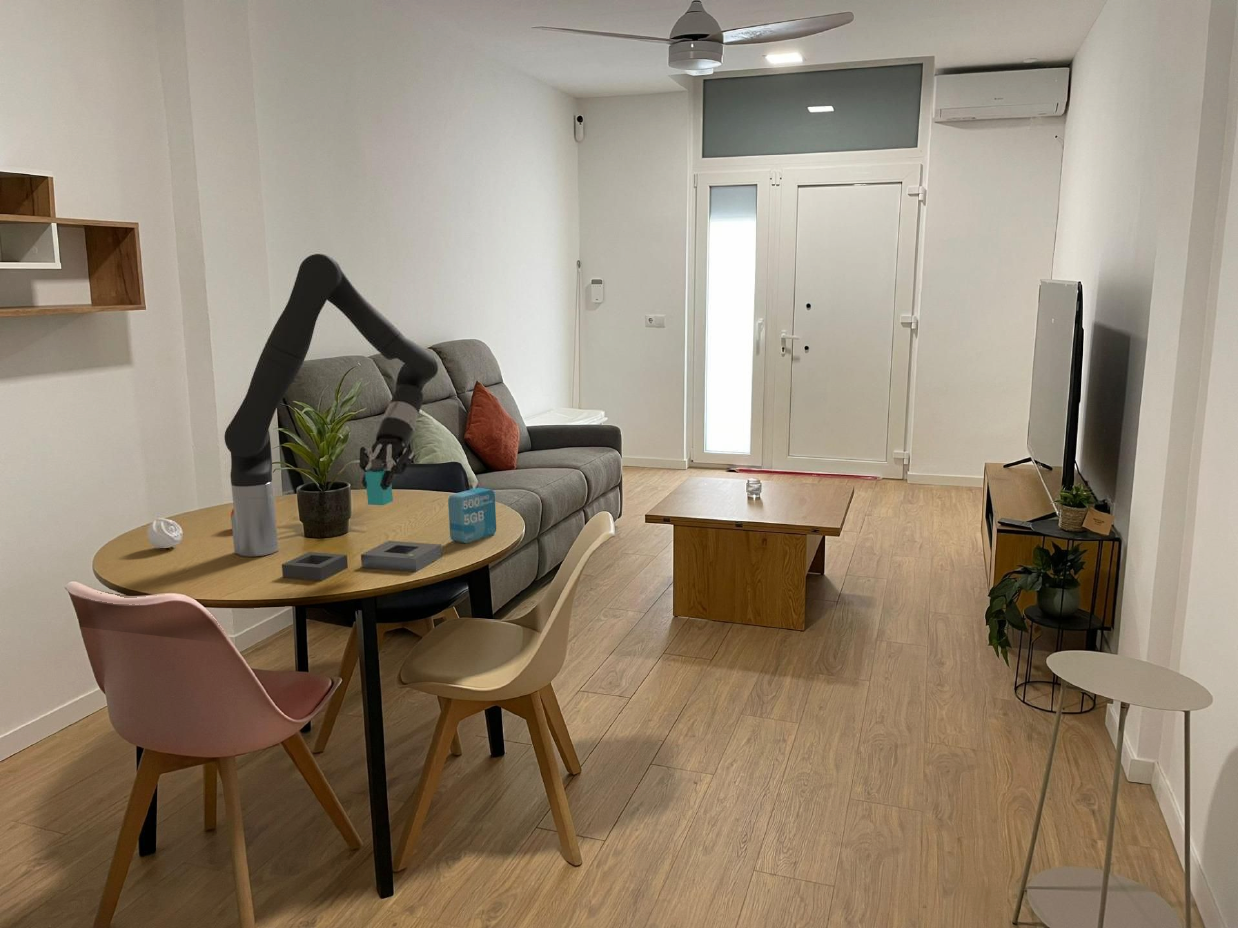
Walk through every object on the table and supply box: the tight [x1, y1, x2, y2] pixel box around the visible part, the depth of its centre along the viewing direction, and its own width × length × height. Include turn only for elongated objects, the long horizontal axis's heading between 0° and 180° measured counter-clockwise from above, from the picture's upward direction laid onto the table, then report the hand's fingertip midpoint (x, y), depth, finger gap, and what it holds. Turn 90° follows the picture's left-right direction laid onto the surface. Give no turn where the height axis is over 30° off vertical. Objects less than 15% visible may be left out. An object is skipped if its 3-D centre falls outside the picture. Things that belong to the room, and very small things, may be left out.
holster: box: [281, 551, 348, 582], centre depth 210 cm, size 10×10×3 cm
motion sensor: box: [146, 517, 183, 549], centre depth 231 cm, size 8×8×8 cm
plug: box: [364, 459, 394, 506], centre depth 211 cm, size 4×4×10 cm
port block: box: [360, 540, 443, 573], centre depth 216 cm, size 14×12×3 cm
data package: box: [447, 487, 497, 544], centre depth 235 cm, size 12×4×12 cm, turn 143°
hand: (374, 487), depth 210 cm, fingers closed on plug, 4 cm apart
